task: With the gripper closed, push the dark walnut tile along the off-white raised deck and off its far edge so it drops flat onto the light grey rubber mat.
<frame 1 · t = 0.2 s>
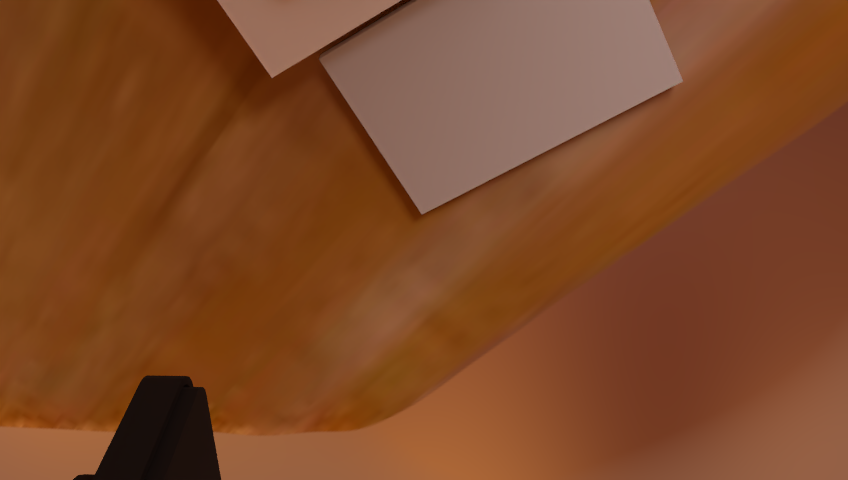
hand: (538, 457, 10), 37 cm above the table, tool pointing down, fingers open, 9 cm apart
mat: (500, 65, 45), on the table
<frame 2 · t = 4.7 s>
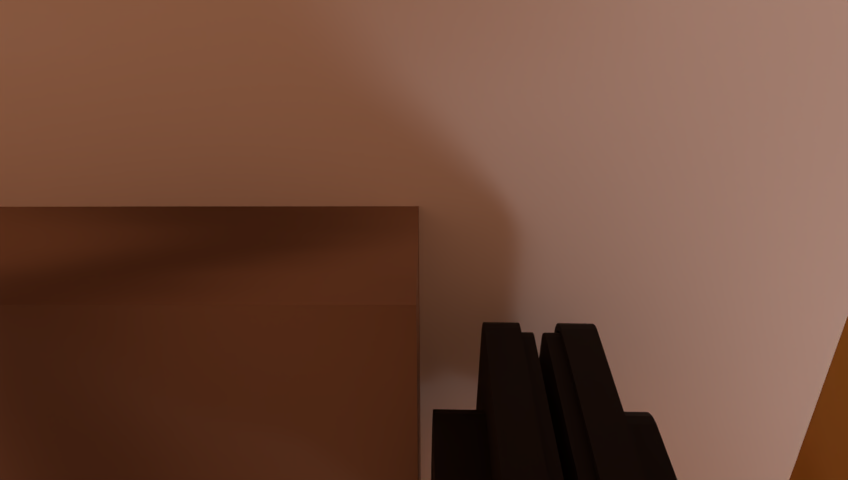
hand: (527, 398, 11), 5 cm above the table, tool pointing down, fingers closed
tile: (180, 365, 12), point 4 cm above the table, touching deck, gripper
deck: (319, 240, 16), on the table
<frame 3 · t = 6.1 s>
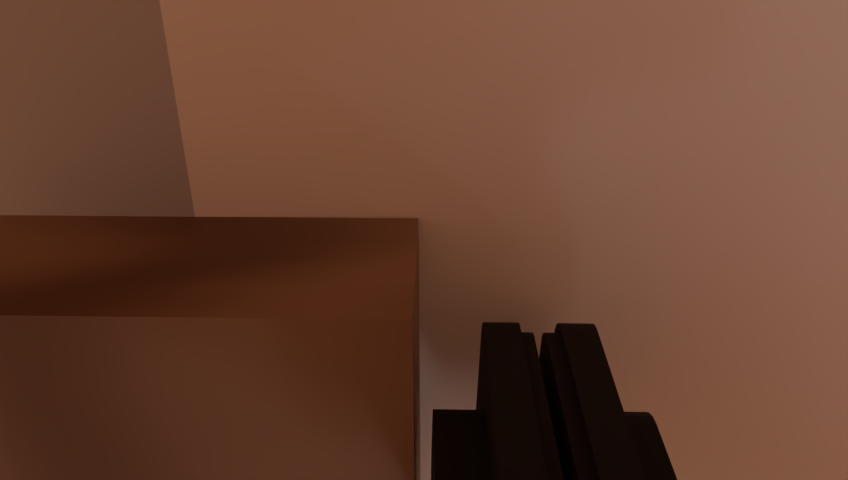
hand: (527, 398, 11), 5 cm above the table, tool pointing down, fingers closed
tile: (182, 373, 13), point 4 cm above the table, touching deck, gripper
deck: (687, 241, 16), on the table
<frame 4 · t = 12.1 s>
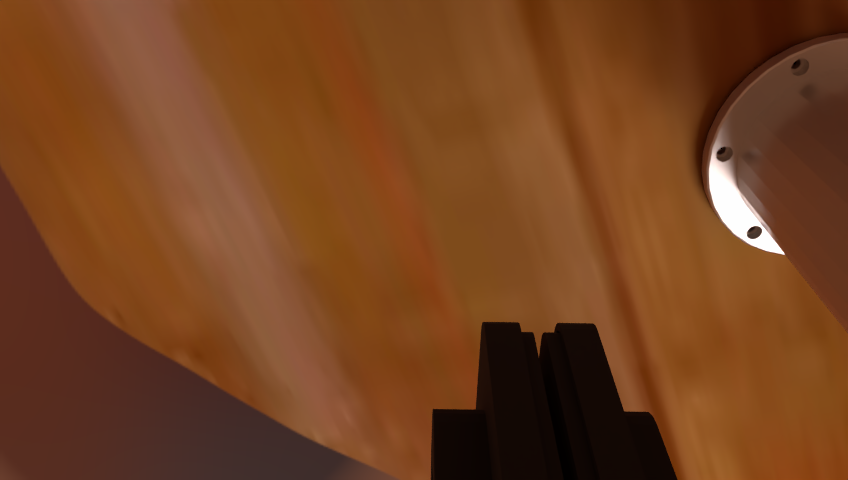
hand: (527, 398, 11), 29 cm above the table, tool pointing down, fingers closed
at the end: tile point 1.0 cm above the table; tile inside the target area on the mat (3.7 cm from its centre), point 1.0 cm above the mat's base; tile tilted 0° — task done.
